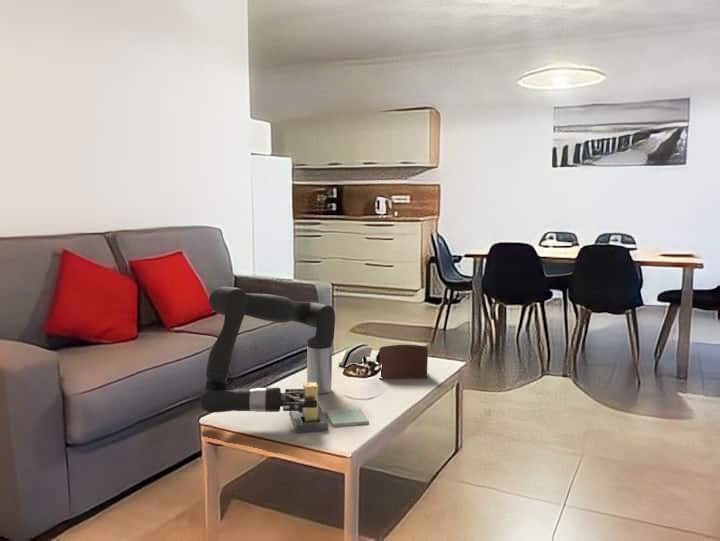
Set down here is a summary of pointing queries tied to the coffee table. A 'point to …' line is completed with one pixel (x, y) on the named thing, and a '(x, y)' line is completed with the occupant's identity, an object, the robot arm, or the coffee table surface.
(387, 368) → the letter holder
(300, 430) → the frame with square holes
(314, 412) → the plug
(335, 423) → the pad
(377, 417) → the coffee table surface
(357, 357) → the grey curved piece
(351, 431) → the coffee table surface
